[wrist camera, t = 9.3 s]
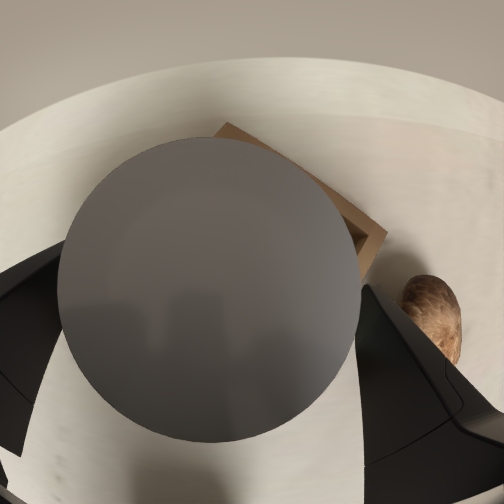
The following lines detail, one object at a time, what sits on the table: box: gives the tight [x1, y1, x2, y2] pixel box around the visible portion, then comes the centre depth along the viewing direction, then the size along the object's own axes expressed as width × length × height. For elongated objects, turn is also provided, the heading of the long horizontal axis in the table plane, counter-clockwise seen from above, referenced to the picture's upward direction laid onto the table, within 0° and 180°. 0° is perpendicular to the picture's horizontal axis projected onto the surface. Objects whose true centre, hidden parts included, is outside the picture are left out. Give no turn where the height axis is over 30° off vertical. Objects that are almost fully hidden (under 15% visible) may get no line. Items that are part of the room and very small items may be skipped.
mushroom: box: [399, 275, 462, 367], centre depth 15 cm, size 8×8×6 cm
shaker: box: [57, 137, 361, 443], centre depth 10 cm, size 5×5×13 cm
